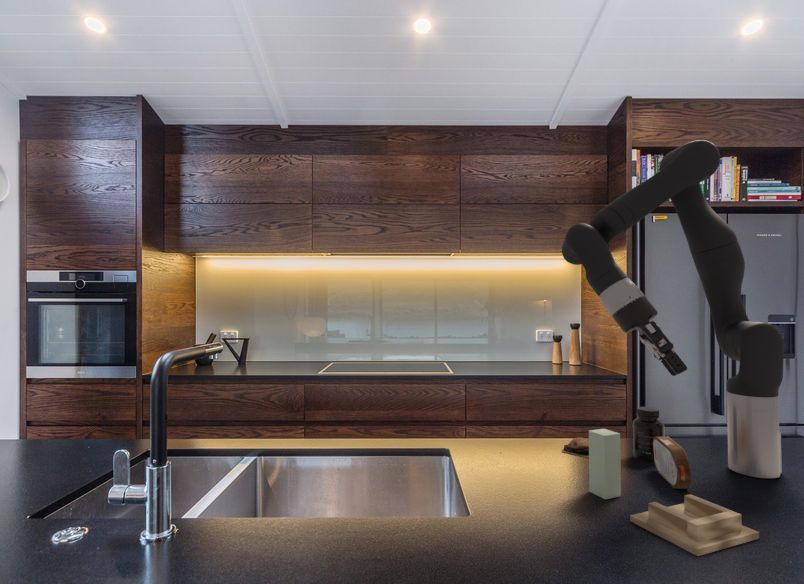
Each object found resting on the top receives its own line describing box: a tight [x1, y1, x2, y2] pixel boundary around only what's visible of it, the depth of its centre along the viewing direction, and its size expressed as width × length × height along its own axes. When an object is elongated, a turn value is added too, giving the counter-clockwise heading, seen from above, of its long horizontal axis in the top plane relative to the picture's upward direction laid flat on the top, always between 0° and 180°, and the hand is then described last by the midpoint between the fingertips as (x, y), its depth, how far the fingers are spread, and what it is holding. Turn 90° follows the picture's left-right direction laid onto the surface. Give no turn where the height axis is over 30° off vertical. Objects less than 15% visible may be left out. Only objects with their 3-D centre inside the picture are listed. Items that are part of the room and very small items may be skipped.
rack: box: [629, 493, 760, 557], centre depth 76 cm, size 14×12×4 cm
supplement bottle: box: [632, 406, 666, 464], centre depth 112 cm, size 7×7×12 cm
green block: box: [588, 428, 622, 500], centre depth 91 cm, size 4×4×12 cm
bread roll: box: [561, 437, 589, 459], centre depth 118 cm, size 11×8×4 cm
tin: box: [653, 435, 693, 490], centre depth 98 cm, size 15×3×8 cm, turn 168°
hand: (680, 373), depth 90 cm, fingers open, 8 cm apart
